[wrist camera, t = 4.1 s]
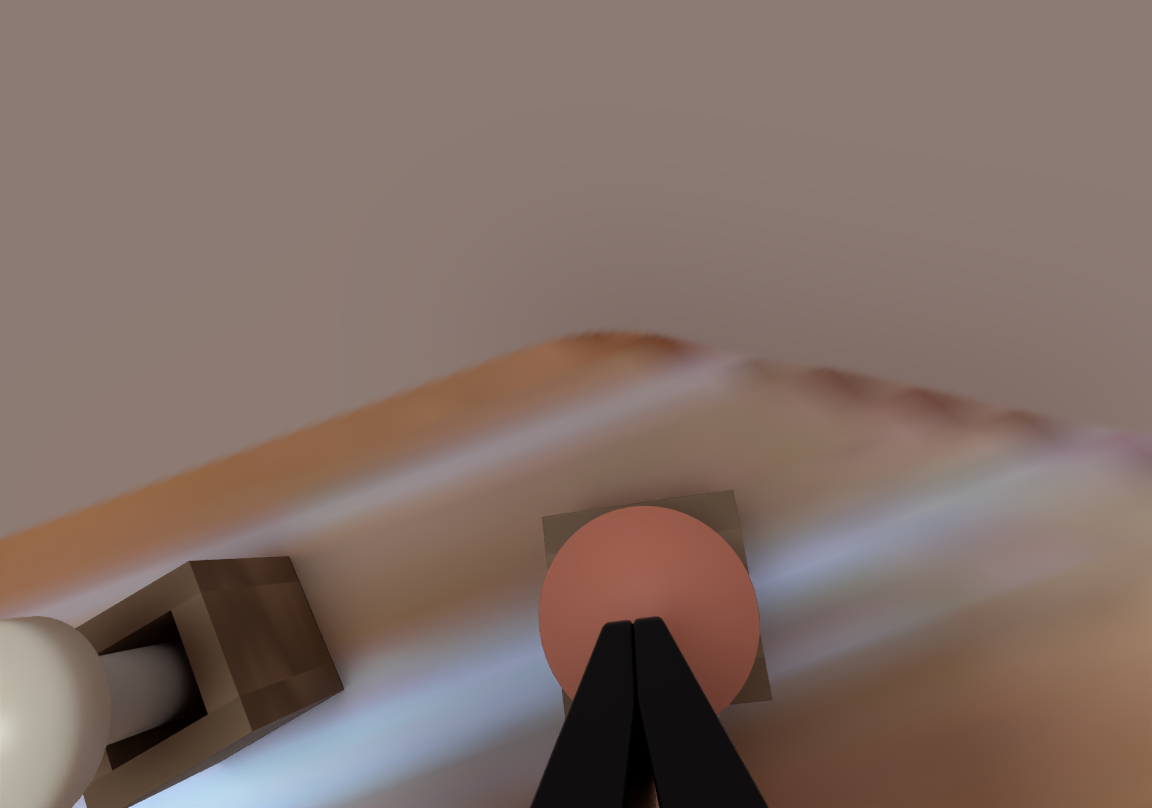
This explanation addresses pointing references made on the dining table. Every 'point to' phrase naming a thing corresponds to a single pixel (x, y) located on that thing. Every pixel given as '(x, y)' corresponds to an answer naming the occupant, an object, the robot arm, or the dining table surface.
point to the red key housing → (705, 508)
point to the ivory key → (76, 706)
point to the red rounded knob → (652, 596)
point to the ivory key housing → (213, 668)
